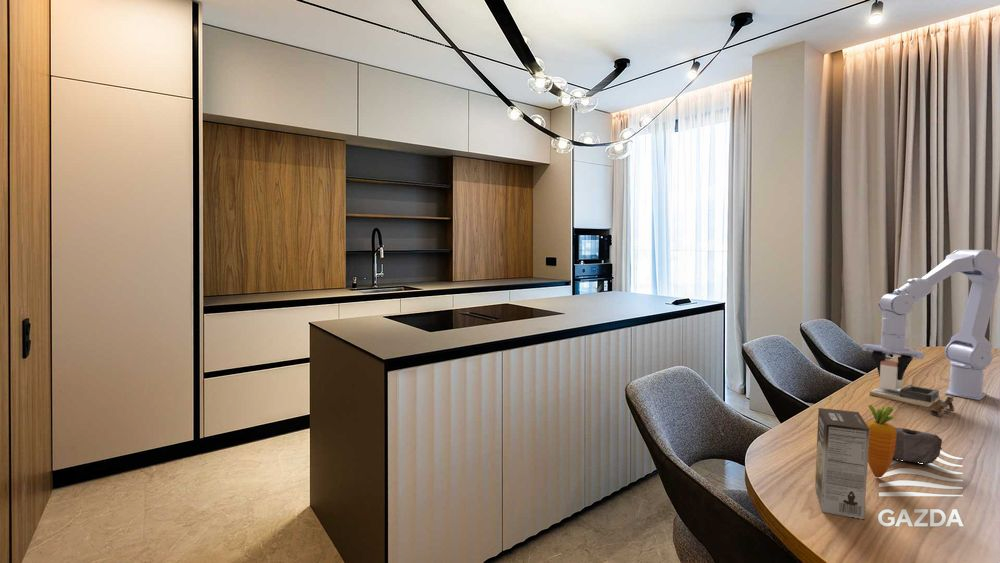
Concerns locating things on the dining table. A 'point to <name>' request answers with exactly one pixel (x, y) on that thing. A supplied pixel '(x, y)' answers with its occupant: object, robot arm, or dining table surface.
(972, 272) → the robot arm
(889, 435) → the carrot
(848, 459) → the coffee box
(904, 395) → the board
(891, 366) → the plug
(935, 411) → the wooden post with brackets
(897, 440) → the perforated stone tool
